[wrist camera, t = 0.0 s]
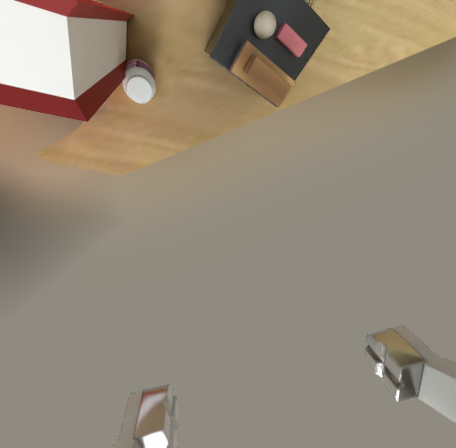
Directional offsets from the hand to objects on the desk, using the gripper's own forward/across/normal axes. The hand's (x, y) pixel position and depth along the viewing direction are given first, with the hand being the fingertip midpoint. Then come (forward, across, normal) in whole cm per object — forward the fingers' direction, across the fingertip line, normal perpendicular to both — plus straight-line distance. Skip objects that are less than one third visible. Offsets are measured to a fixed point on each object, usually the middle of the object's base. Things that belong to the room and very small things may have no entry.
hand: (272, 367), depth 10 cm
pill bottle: (+48, +9, -21) cm, 53 cm away
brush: (+39, -12, -16) cm, 44 cm away
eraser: (+38, -17, -20) cm, 46 cm away
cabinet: (+47, -14, -23) cm, 54 cm away
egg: (+37, -12, -22) cm, 45 cm away
